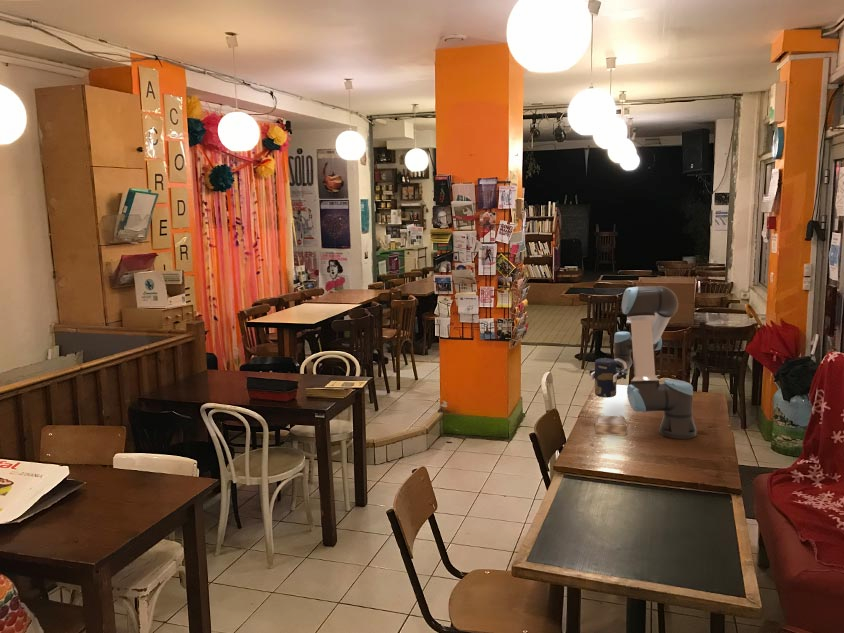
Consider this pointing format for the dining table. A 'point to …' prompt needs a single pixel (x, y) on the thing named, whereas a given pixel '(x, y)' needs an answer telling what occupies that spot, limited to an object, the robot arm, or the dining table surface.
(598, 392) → the canister
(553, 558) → the dining table surface
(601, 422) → the stand
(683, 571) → the dining table surface
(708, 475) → the dining table surface
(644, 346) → the robot arm
